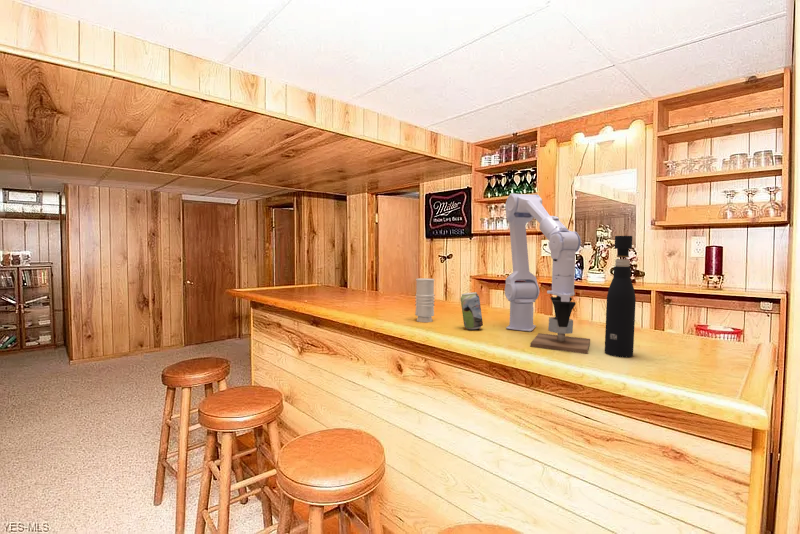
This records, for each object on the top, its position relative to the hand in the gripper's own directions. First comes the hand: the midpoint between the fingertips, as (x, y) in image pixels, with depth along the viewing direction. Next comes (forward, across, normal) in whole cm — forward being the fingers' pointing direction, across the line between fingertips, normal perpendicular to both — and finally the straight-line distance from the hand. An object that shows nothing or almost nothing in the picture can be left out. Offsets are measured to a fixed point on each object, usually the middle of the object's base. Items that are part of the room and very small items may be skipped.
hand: (561, 324), depth 110 cm
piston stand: (+6, 0, 0) cm, 6 cm away
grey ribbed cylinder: (+6, -21, -44) cm, 49 cm away
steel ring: (+2, 0, 0) cm, 2 cm away
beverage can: (+6, -12, -26) cm, 29 cm away
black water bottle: (+6, +6, +13) cm, 16 cm away
